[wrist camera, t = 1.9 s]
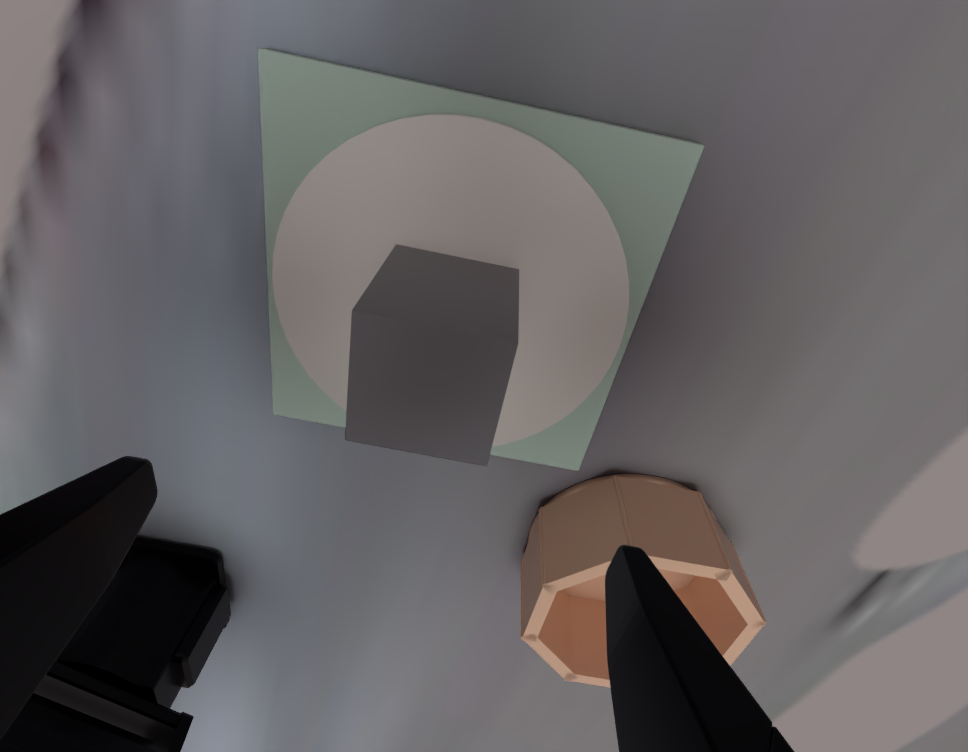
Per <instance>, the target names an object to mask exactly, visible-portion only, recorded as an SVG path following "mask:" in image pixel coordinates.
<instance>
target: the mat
mask: <svg viewBox="0 0 968 752" xmlns="http://www.w3.org/2000/svg"><path fill="white" fill-rule="evenodd" d="M258 66H259V90H260V114H261V138H262V161H263V185H264V209H265V233H266V257H267V281H268V305H269V329H270V353H271V376H272V400H273V414H274V415H279V416H284V417H290V418H295V419H301V420H306V421H311V422H317V423H322V424H328V425H333V426H338V427H344V428H345V427H346V411H345V410H344V409H343V408H341V407H340V406H339V405H337V404H336V403H335V402H334V401H333V400H332V399H331V398H330V397H329V396H328V395H326V394H325V393H324V392H323V391H322V390H321V389H320V387H319V386H318V385H317V384H316V383H315V382H314V381H313V379H312V378H311V377H310V376H309V375H308V373H307V372H306V371H305V369H304V368H303V366H302V365H301V363H300V362H299V360H298V359H297V357H296V355H295V354H294V352H293V350H292V348H291V346H290V344H289V342H288V340H287V338H286V336H285V333H284V330H283V328H282V325H281V323H280V320H279V316H278V312H277V308H276V304H275V299H274V290H273V281H272V268H273V253H274V247H275V241H276V236H277V232H278V229H279V226H280V223H281V220H282V217H283V214H284V212H285V210H286V208H287V206H288V204H289V202H290V200H291V198H292V196H293V195H294V193H295V191H296V190H297V188H298V187H299V186H300V184H301V183H302V182H303V180H304V179H305V177H306V176H307V175H308V173H309V172H310V171H311V170H312V169H313V168H314V167H315V166H316V165H317V164H318V163H319V162H320V161H321V160H322V159H323V158H324V157H326V156H327V155H328V154H329V153H330V152H332V151H333V150H335V149H336V148H338V147H339V146H340V145H342V144H343V143H345V142H346V141H347V140H349V139H351V138H353V137H355V136H357V135H359V134H361V133H363V132H365V131H367V130H369V129H371V128H373V127H376V126H378V125H380V124H384V123H387V122H390V121H393V120H396V119H400V118H403V117H409V116H415V115H422V114H428V113H458V114H465V115H472V116H479V117H484V118H488V119H491V120H494V121H498V122H501V123H505V124H508V125H510V126H513V127H515V128H517V129H519V130H521V131H524V132H526V133H528V134H530V135H532V136H534V137H536V138H537V139H539V140H540V141H542V142H543V143H545V144H547V145H548V146H550V147H551V148H553V149H554V150H556V151H557V152H558V153H559V154H560V155H562V156H563V157H564V158H565V159H566V160H567V161H568V162H570V163H571V164H572V165H573V166H574V167H575V168H576V169H577V170H578V171H579V172H580V173H581V175H582V176H583V177H584V178H585V179H586V180H587V181H588V183H589V184H590V185H591V186H592V187H593V189H594V191H595V192H596V194H597V195H598V197H599V198H600V200H601V201H602V203H603V205H604V206H605V208H606V209H607V211H608V213H609V215H610V217H611V220H612V222H613V224H614V226H615V228H616V230H617V233H618V235H619V237H620V241H621V244H622V248H623V251H624V254H625V258H626V263H627V270H628V277H629V309H628V315H627V322H626V328H625V331H624V334H623V338H622V341H621V344H620V347H619V349H618V352H617V354H616V356H615V358H614V360H613V362H612V365H611V366H610V368H609V370H608V371H607V373H606V374H605V376H604V377H603V379H602V381H601V382H600V383H599V385H598V386H597V387H596V388H595V389H594V391H593V392H592V393H591V394H590V395H589V397H588V398H587V399H586V400H584V401H583V402H582V403H581V404H580V405H579V406H578V407H577V408H576V409H575V410H574V411H572V412H571V413H570V414H568V415H567V416H566V417H564V418H563V419H561V420H560V421H559V422H557V423H555V424H554V425H552V426H550V427H548V428H546V429H544V430H543V431H541V432H539V433H536V434H534V435H531V436H529V437H527V438H524V439H521V440H518V441H515V442H511V443H508V444H504V445H499V446H493V447H492V448H491V452H490V455H495V456H500V457H505V458H511V459H516V460H522V461H527V462H532V463H538V464H543V465H549V466H554V467H559V468H565V469H570V470H575V471H579V468H580V466H581V463H582V461H583V458H584V455H585V453H586V450H587V448H588V445H589V443H590V440H591V437H592V435H593V432H594V430H595V427H596V424H597V422H598V419H599V417H600V414H601V412H602V409H603V406H604V404H605V401H606V399H607V396H608V394H609V391H610V388H611V386H612V383H613V381H614V378H615V375H616V373H617V370H618V368H619V365H620V363H621V360H622V357H623V355H624V352H625V350H626V347H627V345H628V342H629V339H630V337H631V334H632V332H633V329H634V326H635V324H636V321H637V319H638V316H639V314H640V311H641V308H642V306H643V303H644V301H645V298H646V296H647V293H648V290H649V288H650V285H651V283H652V280H653V277H654V275H655V272H656V270H657V267H658V265H659V262H660V259H661V257H662V254H663V252H664V249H665V247H666V244H667V241H668V239H669V236H670V234H671V231H672V228H673V226H674V223H675V221H676V218H677V216H678V213H679V210H680V208H681V205H682V203H683V200H684V198H685V195H686V192H687V190H688V187H689V185H690V182H691V179H692V177H693V174H694V172H695V169H696V167H697V164H698V161H699V159H700V156H701V154H702V151H703V149H704V145H702V144H700V143H697V142H693V141H688V140H683V139H679V138H674V137H670V136H665V135H661V134H656V133H651V132H647V131H642V130H638V129H633V128H629V127H624V126H620V125H615V124H610V123H606V122H601V121H597V120H592V119H588V118H583V117H578V116H574V115H569V114H565V113H560V112H556V111H551V110H547V109H542V108H537V107H533V106H528V105H524V104H519V103H515V102H510V101H505V100H501V99H496V98H492V97H487V96H483V95H478V94H474V93H469V92H464V91H460V90H455V89H451V88H446V87H442V86H437V85H432V84H428V83H423V82H419V81H414V80H410V79H405V78H401V77H396V76H391V75H387V74H382V73H378V72H373V71H369V70H364V69H359V68H355V67H350V66H346V65H341V64H337V63H332V62H328V61H323V60H318V59H314V58H309V57H305V56H300V55H296V54H291V53H286V52H282V51H277V50H273V49H268V48H258Z"/></svg>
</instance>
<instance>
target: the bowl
mask: <svg viewBox="0 0 968 752" xmlns="http://www.w3.org/2000/svg"><path fill="white" fill-rule="evenodd" d="M620 545H629V546H635V547H639V548H641V549H642V550H644V551H645V553H646V554H647V555H648V557H649V558H650V559H651V561H652V562H653V563H654V565H655V566H656V567H657V569H658V570H659V571H660V573H661V574H662V575H663V577H664V578H665V579H666V581H667V582H668V583H669V585H670V586H671V588H672V589H673V590H674V592H675V593H676V594H677V596H678V597H679V598H680V600H681V601H682V602H683V604H684V605H685V606H686V608H687V609H688V610H689V612H690V613H691V614H692V616H693V617H694V618H695V620H696V621H697V622H698V624H699V625H700V626H701V628H702V629H703V630H704V632H705V633H706V634H707V636H708V637H709V638H710V640H711V641H712V642H713V644H714V645H715V646H716V648H717V649H718V650H719V652H720V653H721V655H722V656H723V657H724V659H725V660H726V661H727V663H728V664H729V665H731V664H732V663H733V662H734V661H735V659H736V658H737V657H738V656H739V655H740V653H741V652H742V651H743V650H744V649H745V647H746V646H747V645H748V644H749V643H750V641H751V640H752V639H753V638H754V637H755V635H756V634H757V633H758V632H759V631H760V629H761V628H762V627H763V626H764V625H766V620H765V618H764V616H763V613H762V611H761V609H760V606H759V604H758V602H757V600H756V597H755V595H754V593H753V590H752V588H751V586H750V583H749V581H748V579H747V576H746V574H745V572H744V570H743V567H742V565H741V563H740V560H739V558H738V556H737V553H736V551H735V549H734V546H733V544H732V542H731V541H729V539H728V538H727V536H726V535H725V533H724V531H723V530H722V528H721V527H720V525H719V523H718V522H717V520H716V517H715V515H714V513H713V511H712V509H711V508H710V507H709V505H708V504H707V503H706V502H705V501H704V499H703V497H702V494H701V492H699V491H692V490H691V489H689V488H687V487H685V486H683V485H681V484H679V483H677V482H674V481H671V480H668V479H665V478H661V477H656V476H650V475H643V474H617V475H609V476H602V477H598V478H594V479H590V480H587V481H584V482H581V483H579V484H576V485H574V486H572V487H570V488H568V489H566V490H564V491H562V492H561V493H559V494H558V495H556V496H555V497H553V498H552V499H551V500H550V501H549V502H547V503H546V504H545V505H544V507H541V508H539V513H538V514H537V515H536V517H535V518H534V521H533V523H532V525H531V527H530V531H529V537H528V545H527V547H526V550H525V553H524V556H523V559H521V638H522V640H524V641H525V642H526V643H527V644H528V645H530V646H531V647H532V648H533V649H534V650H535V651H536V652H537V653H538V654H539V655H540V656H541V657H542V658H543V659H544V660H545V661H546V662H547V663H548V664H549V665H550V666H551V667H552V668H554V669H555V670H556V671H557V672H558V673H559V674H560V675H561V676H562V677H563V678H564V680H566V681H574V682H580V683H586V684H592V685H598V686H604V687H610V680H609V672H608V663H607V642H606V605H605V576H606V571H607V569H608V567H609V565H610V563H611V561H612V559H613V557H614V555H615V553H616V551H617V549H618V547H619V546H620ZM610 688H611V687H610Z"/></svg>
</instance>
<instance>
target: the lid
mask: <svg viewBox="0 0 968 752" xmlns="http://www.w3.org/2000/svg"><path fill="white" fill-rule="evenodd" d="M272 281H273V290H274V299H275V304H276V308H277V312H278V316H279V320H280V323H281V325H282V328H283V330H284V333H285V336H286V338H287V340H288V342H289V344H290V346H291V348H292V350H293V352H294V354H295V355H296V357H297V359H298V360H299V362H300V363H301V365H302V366H303V368H304V369H305V371H306V372H307V373H308V375H309V376H310V377H311V378H312V379H313V381H314V382H315V383H316V384H317V385H318V386H319V387H320V389H321V390H322V391H323V392H324V393H325V394H326V395H328V396H329V397H330V398H331V399H332V400H333V401H334V402H335V403H336V404H337V405H339V406H340V407H341V408H343V409H344V410H345V411H346V427H345V440H347V441H353V442H358V443H363V444H369V445H374V446H380V447H385V448H390V449H396V450H401V451H406V452H412V453H417V454H423V455H428V456H433V457H439V458H444V459H450V460H455V461H460V462H466V463H471V464H477V465H482V466H487V464H488V460H489V456H490V452H491V448H492V447H493V446H499V445H504V444H508V443H511V442H515V441H518V440H521V439H524V438H527V437H529V436H531V435H534V434H536V433H539V432H541V431H543V430H544V429H546V428H548V427H550V426H552V425H554V424H555V423H557V422H559V421H560V420H561V419H563V418H564V417H566V416H567V415H568V414H570V413H571V412H572V411H574V410H575V409H576V408H577V407H578V406H579V405H580V404H581V403H582V402H583V401H584V400H586V399H587V398H588V397H589V395H590V394H591V393H592V392H593V391H594V389H595V388H596V387H597V386H598V385H599V383H600V382H601V381H602V379H603V377H604V376H605V374H606V373H607V371H608V370H609V368H610V366H611V365H612V362H613V360H614V358H615V356H616V354H617V352H618V349H619V347H620V344H621V341H622V338H623V334H624V331H625V328H626V322H627V315H628V309H629V277H628V270H627V263H626V258H625V254H624V251H623V248H622V244H621V241H620V237H619V235H618V233H617V230H616V228H615V226H614V224H613V222H612V220H611V217H610V215H609V213H608V211H607V209H606V208H605V206H604V205H603V203H602V201H601V200H600V198H599V197H598V195H597V194H596V192H595V191H594V189H593V187H592V186H591V185H590V184H589V183H588V181H587V180H586V179H585V178H584V177H583V176H582V175H581V173H580V172H579V171H578V170H577V169H576V168H575V167H574V166H573V165H572V164H571V163H570V162H568V161H567V160H566V159H565V158H564V157H563V156H562V155H560V154H559V153H558V152H557V151H556V150H554V149H553V148H551V147H550V146H548V145H547V144H545V143H543V142H542V141H540V140H539V139H537V138H536V137H534V136H532V135H530V134H528V133H526V132H524V131H521V130H519V129H517V128H515V127H513V126H510V125H508V124H505V123H501V122H498V121H494V120H491V119H488V118H484V117H479V116H472V115H465V114H458V113H428V114H422V115H415V116H409V117H403V118H400V119H396V120H393V121H390V122H387V123H384V124H380V125H378V126H376V127H373V128H371V129H369V130H367V131H365V132H363V133H361V134H359V135H357V136H355V137H353V138H351V139H349V140H347V141H346V142H345V143H343V144H342V145H340V146H339V147H338V148H336V149H335V150H333V151H332V152H330V153H329V154H328V155H327V156H326V157H324V158H323V159H322V160H321V161H320V162H319V163H318V164H317V165H316V166H315V167H314V168H313V169H312V170H311V171H310V172H309V173H308V175H307V176H306V177H305V179H304V180H303V182H302V183H301V184H300V186H299V187H298V188H297V190H296V191H295V193H294V195H293V196H292V198H291V200H290V202H289V204H288V206H287V208H286V210H285V212H284V214H283V217H282V220H281V223H280V226H279V229H278V232H277V236H276V241H275V247H274V253H273V268H272Z"/></svg>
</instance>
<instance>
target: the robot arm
mask: <svg viewBox="0 0 968 752" xmlns="http://www.w3.org/2000/svg"><path fill="white" fill-rule="evenodd" d="M156 498H157V486H156V481H155V476H154V471H153V467H152V463H151V462H150V461H149V460H147V459H143V458H138V457H132V456H125V457H122V458H119V459H117V460H115V461H113V462H111V463H109V464H107V465H104V466H102V467H100V468H98V469H96V470H94V471H92V472H90V473H88V474H85V475H83V476H81V477H79V478H77V479H75V480H73V481H71V482H68V483H66V484H64V485H62V486H60V487H58V488H56V489H54V490H52V491H49V492H47V493H45V494H43V495H41V496H39V497H37V498H35V499H32V500H30V501H28V502H26V503H24V504H22V505H20V506H18V507H16V508H13V509H11V510H9V511H7V512H5V513H3V514H1V515H0V752H180V751H181V748H182V746H183V743H184V741H185V738H186V735H187V733H188V730H189V728H190V725H191V722H192V720H193V716H192V715H189V714H187V713H185V712H182V713H179V712H176V711H174V710H172V709H170V707H171V705H172V704H173V702H174V700H175V698H176V696H177V694H178V692H179V691H180V689H181V687H185V688H189V687H190V686H192V685H193V684H194V683H195V682H196V680H197V678H198V676H199V674H200V672H201V670H202V668H203V666H204V664H205V662H206V661H207V659H208V657H209V655H210V653H211V651H212V649H213V647H214V645H215V643H216V641H217V639H218V637H219V636H220V634H221V632H222V630H223V628H225V627H226V626H227V624H228V622H229V616H230V605H229V598H228V590H227V587H226V585H225V582H224V574H223V567H222V559H221V557H220V555H219V554H217V553H216V552H213V551H208V550H203V549H197V548H191V547H185V546H179V545H173V544H168V543H162V542H156V541H150V540H144V539H139V538H136V536H137V534H138V532H139V531H140V529H141V527H142V525H143V523H144V522H145V520H146V518H147V516H148V514H149V513H150V511H151V509H152V507H153V505H154V503H155V501H156ZM605 605H606V642H607V663H608V672H609V680H610V687H611V694H612V702H613V709H614V717H615V724H616V732H617V739H618V746H619V752H794V751H793V749H792V748H791V747H790V745H789V744H788V743H787V741H786V740H785V739H784V737H783V736H782V735H781V733H780V732H779V731H778V729H777V728H776V727H772V722H771V720H770V719H769V717H768V716H767V715H766V713H765V712H764V711H763V709H762V708H761V707H760V705H759V704H758V703H757V701H756V700H755V699H754V697H753V696H752V695H751V693H750V692H749V691H748V689H747V688H746V687H745V685H744V684H743V683H742V681H741V680H740V679H739V677H738V676H737V675H736V673H735V672H734V671H733V669H732V668H731V667H730V665H729V664H728V663H727V661H726V660H725V659H724V657H723V656H722V655H721V653H720V652H719V650H718V649H717V648H716V646H715V645H714V644H713V642H712V641H711V640H710V638H709V637H708V636H707V634H706V633H705V632H704V630H703V629H702V628H701V626H700V625H699V624H698V622H697V621H696V620H695V618H694V617H693V616H692V614H691V613H690V612H689V610H688V609H687V608H686V606H685V605H684V604H683V602H682V601H681V600H680V598H679V597H678V596H677V594H676V593H675V592H674V590H673V589H672V588H671V586H670V585H669V583H668V582H667V581H666V579H665V578H664V577H663V575H662V574H661V573H660V571H659V570H658V569H657V567H656V566H655V565H654V563H653V562H652V561H651V559H650V558H649V557H648V555H647V554H646V553H645V551H644V550H642V549H641V548H639V547H635V546H629V545H620V546H619V547H618V549H617V551H616V553H615V555H614V557H613V559H612V561H611V563H610V565H609V567H608V569H607V571H606V576H605Z"/></svg>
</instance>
